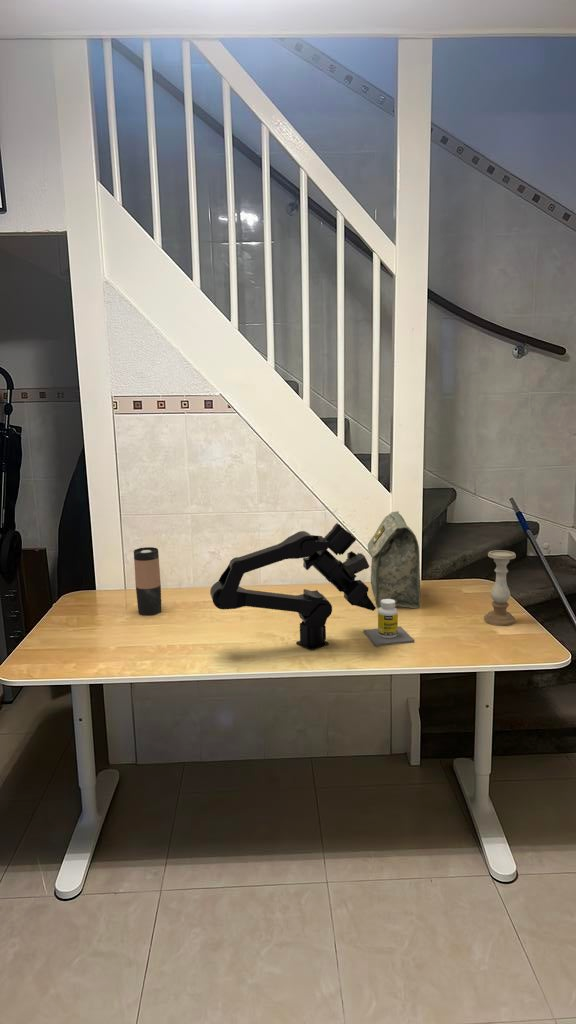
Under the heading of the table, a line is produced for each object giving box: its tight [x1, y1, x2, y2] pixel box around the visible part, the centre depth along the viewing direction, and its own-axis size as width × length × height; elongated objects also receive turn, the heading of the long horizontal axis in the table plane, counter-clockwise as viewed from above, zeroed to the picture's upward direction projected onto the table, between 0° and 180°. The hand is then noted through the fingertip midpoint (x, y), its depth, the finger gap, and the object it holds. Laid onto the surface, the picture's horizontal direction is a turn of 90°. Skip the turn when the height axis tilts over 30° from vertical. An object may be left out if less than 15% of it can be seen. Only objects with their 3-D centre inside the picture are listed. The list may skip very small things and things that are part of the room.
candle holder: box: [483, 549, 517, 627], centre depth 199 cm, size 9×9×20 cm
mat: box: [363, 625, 415, 647], centre depth 190 cm, size 11×11×1 cm
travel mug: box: [133, 546, 162, 617], centre depth 215 cm, size 8×8×20 cm
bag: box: [367, 510, 421, 609], centre depth 221 cm, size 22×16×27 cm
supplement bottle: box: [377, 599, 399, 638], centre depth 189 cm, size 5×5×10 cm
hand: (369, 604), depth 188 cm, fingers open, 9 cm apart
